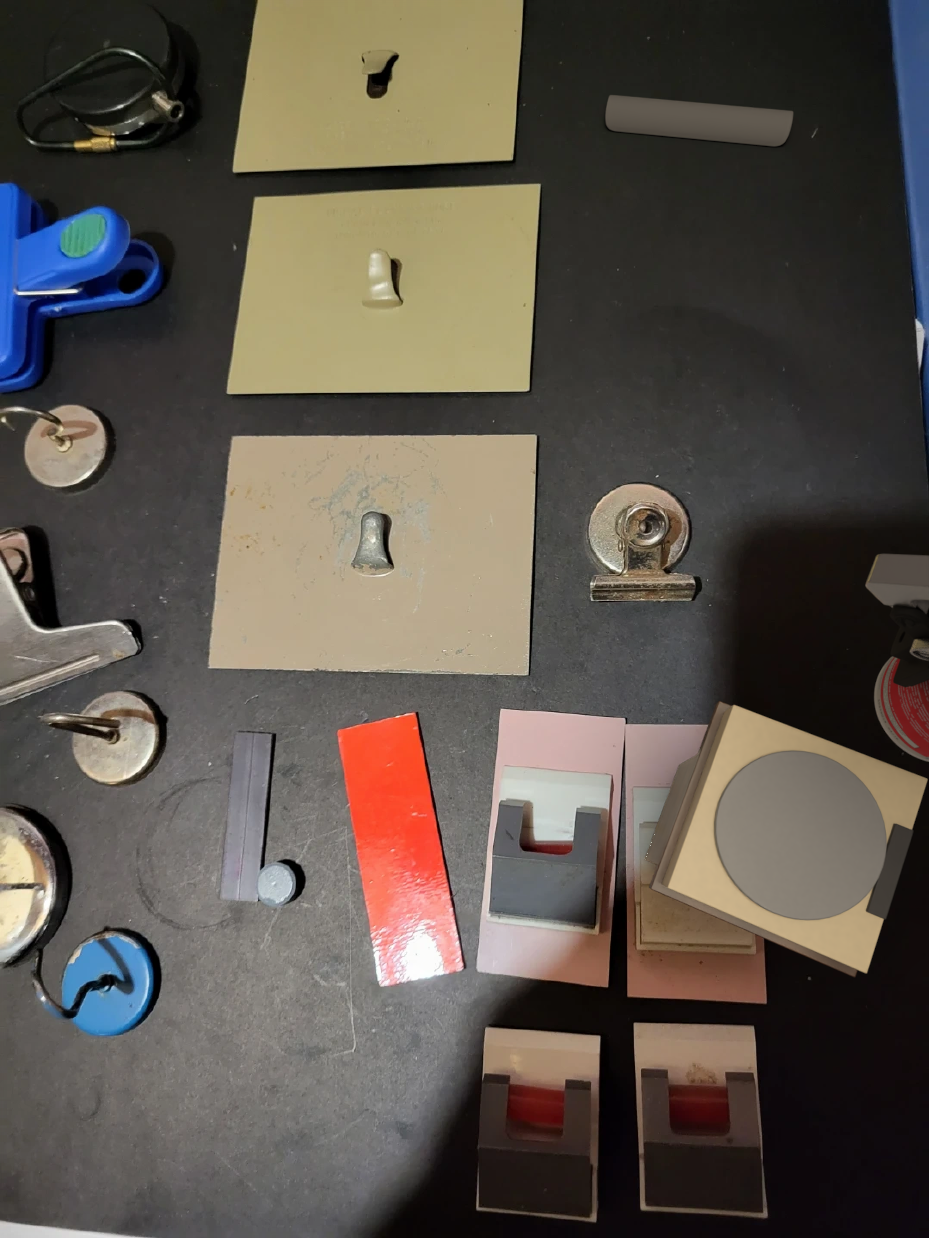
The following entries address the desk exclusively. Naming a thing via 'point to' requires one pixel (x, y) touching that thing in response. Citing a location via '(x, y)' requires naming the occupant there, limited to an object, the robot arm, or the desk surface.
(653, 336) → the desk surface
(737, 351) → the desk surface
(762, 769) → the scale
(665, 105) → the gray half cylinder
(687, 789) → the stand
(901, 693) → the pill bottle
